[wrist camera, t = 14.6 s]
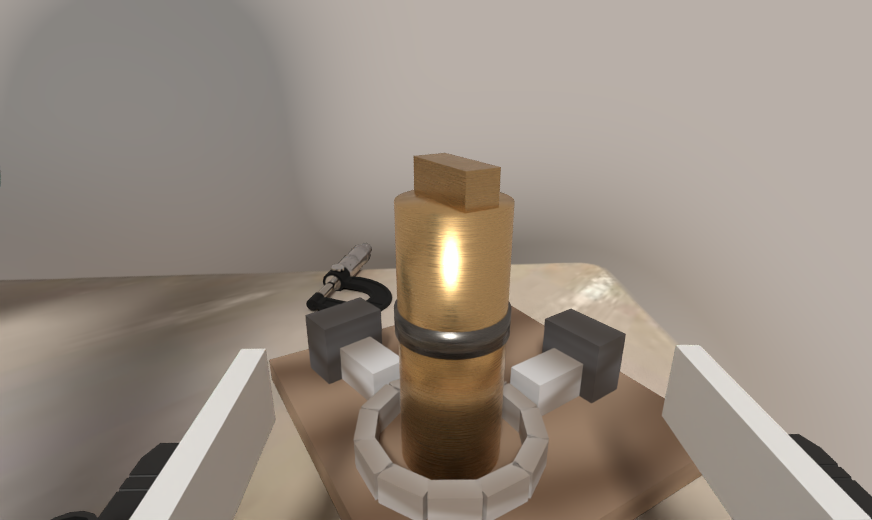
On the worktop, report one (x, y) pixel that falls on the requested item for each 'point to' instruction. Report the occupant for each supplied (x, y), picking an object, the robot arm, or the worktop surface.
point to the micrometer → (350, 281)
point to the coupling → (452, 315)
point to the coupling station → (520, 427)
